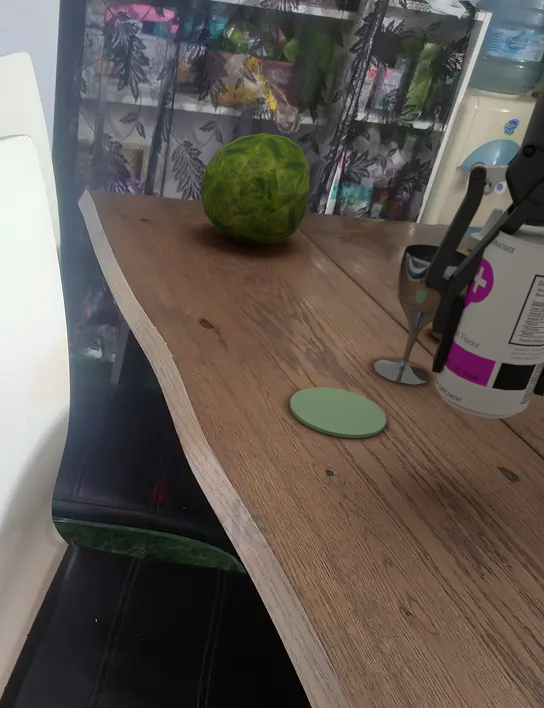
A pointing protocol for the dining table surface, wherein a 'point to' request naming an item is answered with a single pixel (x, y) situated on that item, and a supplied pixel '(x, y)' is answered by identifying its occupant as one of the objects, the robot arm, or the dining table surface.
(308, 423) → the coaster
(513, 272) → the supplement can
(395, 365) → the wine glass
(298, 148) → the lettuce
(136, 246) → the dining table surface
